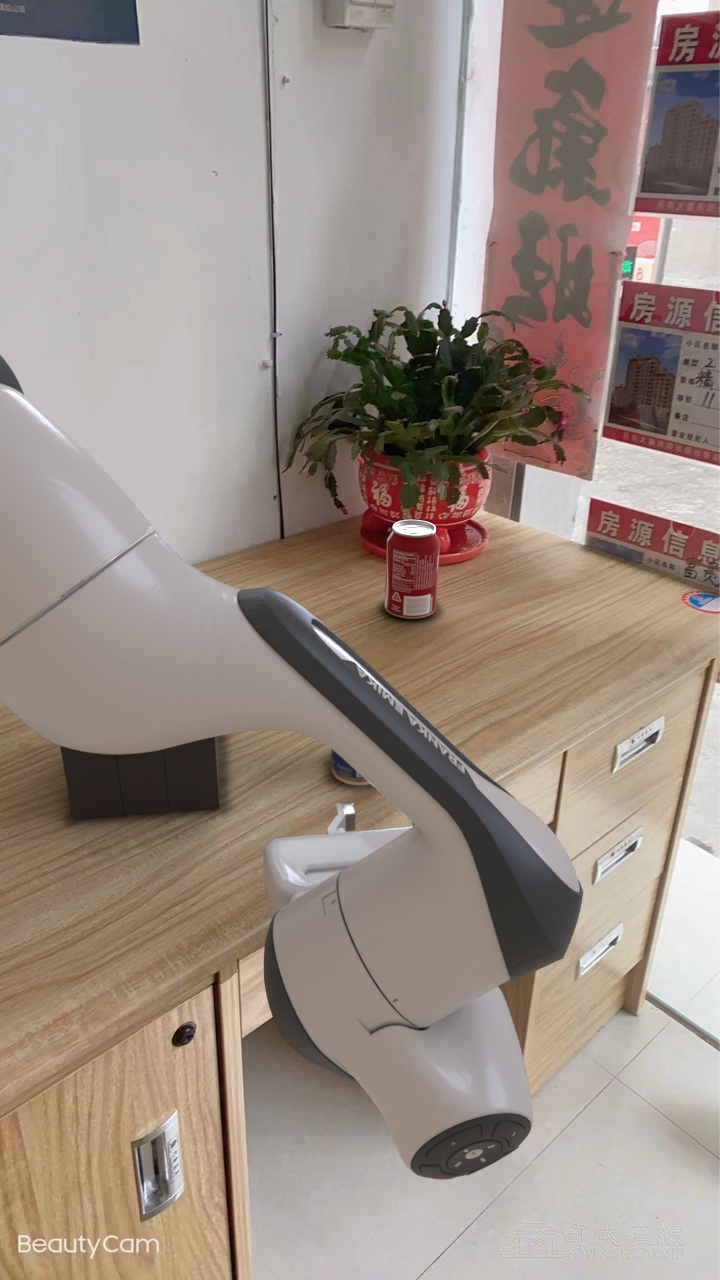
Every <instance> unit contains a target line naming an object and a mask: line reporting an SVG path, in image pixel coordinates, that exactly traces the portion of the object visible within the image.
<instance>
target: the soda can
mask: <svg viewBox="0 0 720 1280" xmlns="http://www.w3.org/2000/svg"><path fill="white" fill-rule="evenodd" d="M436 530H437V528H436V525H435V524H433V523H431V522H429V521H425V520H419V519H404V520H399V521H397V522H395V523H394V524H393V525H392V531H391V533H389V535H388V537H387V539H386V557H385V558H386V560H385V561H386V562H385V587H384V588H385V590H384V609H385V611H386V612H387V613H388V614H389V615H392V616H394V617H396V618H401V619H406V620H417V619H424V618H427V617H429V616H431V615H433V614H434V612H435V611H436V607H437V606H436V605H437V591H438V578H439V577H438V576H439V561H440V546H441V540H440V538H439V537H438V534H437V533H436V532H437V531H436Z"/></svg>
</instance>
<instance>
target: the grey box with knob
mask: <svg viewBox="0 0 720 1280" xmlns="http://www.w3.org/2000/svg"><path fill="white" fill-rule="evenodd" d="M83 581H84V580H83ZM80 583H81V582H80ZM80 583H79V584H80ZM76 586H77V585H76ZM76 586H75V587H76ZM73 588H74V587H73ZM73 588H72V589H73ZM69 591H70V590H69ZM69 591H68V592H69ZM65 594H66V593H65ZM65 594H64V595H65ZM61 597H62V596H61ZM61 597H60V598H61ZM219 739H220V738H219V736H215V737H211V738H206V739H202V740H198V741H194V742H190V743H186V744H182V745H178V746H174V747H170V748H166V749H162V750H157V751H152V752H145V753H136V754H98V753H89V752H84V751H79V750H74V749H70V748H67V747H63V746H60V745H59V749H60V754H61V759H62V765H63V772H64V776H65V783H66V789H67V795H68V801H69V806H70V813H71V817H72V821H86V820H97V819H98V820H99V819H111V818H112V819H113V818H122V817H137V816H148V815H149V816H151V815H161V814H172V813H173V814H174V813H185V812H199V811H211V810H220V808H221V804H220V803H221V802H220V798H221V797H220V796H221V795H220V744H219V743H220V742H219Z"/></svg>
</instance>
